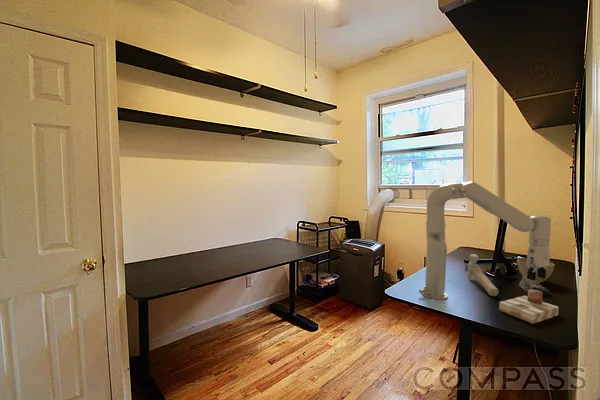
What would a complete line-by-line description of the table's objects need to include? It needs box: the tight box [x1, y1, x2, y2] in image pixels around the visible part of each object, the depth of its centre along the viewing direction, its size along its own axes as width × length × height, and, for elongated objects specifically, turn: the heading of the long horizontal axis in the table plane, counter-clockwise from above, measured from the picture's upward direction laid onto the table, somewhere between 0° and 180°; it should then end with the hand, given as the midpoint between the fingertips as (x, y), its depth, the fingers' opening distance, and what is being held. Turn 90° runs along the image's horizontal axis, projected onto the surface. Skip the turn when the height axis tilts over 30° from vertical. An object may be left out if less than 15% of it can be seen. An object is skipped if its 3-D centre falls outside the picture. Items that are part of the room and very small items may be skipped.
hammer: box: [467, 253, 499, 297], centre depth 166 cm, size 16×5×30 cm
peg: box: [527, 289, 543, 305], centre depth 135 cm, size 6×6×9 cm
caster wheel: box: [518, 275, 550, 297], centre depth 159 cm, size 7×11×10 cm
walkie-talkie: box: [464, 264, 489, 276], centre depth 197 cm, size 9×4×20 cm
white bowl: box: [516, 257, 555, 284], centre depth 178 cm, size 18×18×12 cm
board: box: [498, 295, 559, 324], centre depth 133 cm, size 20×14×4 cm
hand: (536, 278), depth 134 cm, fingers open, 7 cm apart
